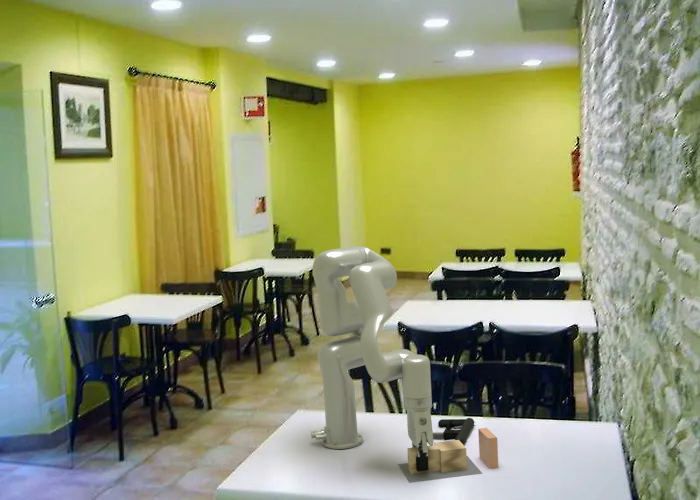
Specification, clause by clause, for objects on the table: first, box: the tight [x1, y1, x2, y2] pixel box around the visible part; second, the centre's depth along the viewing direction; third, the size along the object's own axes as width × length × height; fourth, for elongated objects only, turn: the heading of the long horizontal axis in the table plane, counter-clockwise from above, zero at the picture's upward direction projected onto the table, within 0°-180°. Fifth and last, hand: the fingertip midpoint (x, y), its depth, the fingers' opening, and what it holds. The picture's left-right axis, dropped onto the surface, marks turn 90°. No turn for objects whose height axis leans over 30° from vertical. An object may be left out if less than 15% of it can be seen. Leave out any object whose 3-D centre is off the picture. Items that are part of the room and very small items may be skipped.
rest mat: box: [397, 455, 483, 484], centre depth 201 cm, size 20×13×1 cm, turn 99°
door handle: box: [433, 417, 477, 446], centre depth 227 cm, size 3×20×16 cm
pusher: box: [406, 439, 468, 474], centre depth 200 cm, size 15×6×6 cm, turn 99°
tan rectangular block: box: [478, 427, 499, 470], centre depth 202 cm, size 3×8×9 cm, turn 9°
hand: (420, 467), depth 200 cm, fingers closed on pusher, 3 cm apart
